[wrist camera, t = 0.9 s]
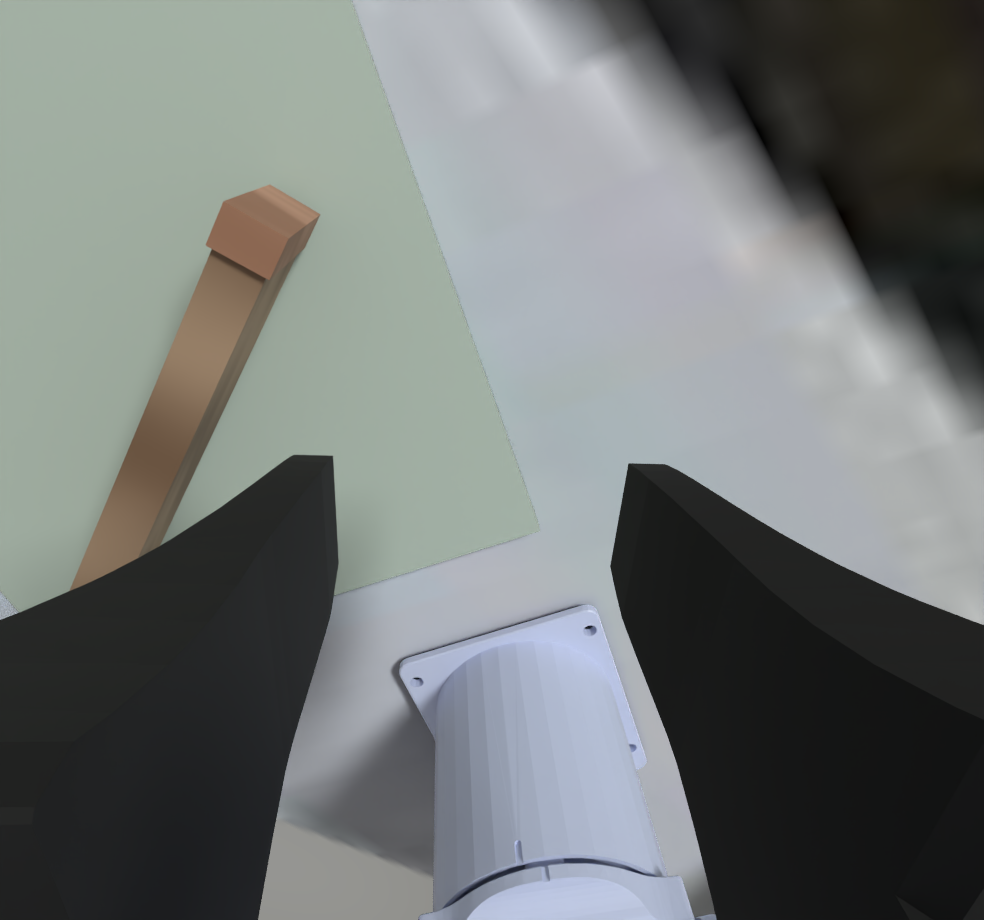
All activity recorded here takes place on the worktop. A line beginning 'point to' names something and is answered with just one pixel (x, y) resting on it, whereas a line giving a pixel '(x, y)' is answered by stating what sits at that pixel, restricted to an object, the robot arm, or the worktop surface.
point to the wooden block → (199, 372)
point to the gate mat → (179, 264)
